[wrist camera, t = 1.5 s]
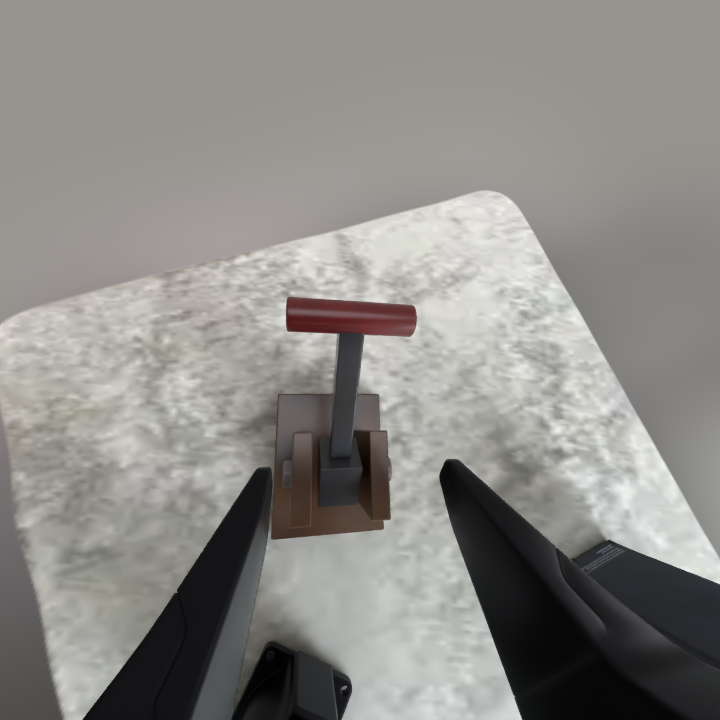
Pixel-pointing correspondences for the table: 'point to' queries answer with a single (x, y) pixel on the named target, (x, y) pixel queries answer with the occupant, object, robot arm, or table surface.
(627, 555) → the small box
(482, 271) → the table surface
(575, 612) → the robot arm
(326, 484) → the crank
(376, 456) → the bracket
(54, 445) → the table surface
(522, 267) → the table surface
